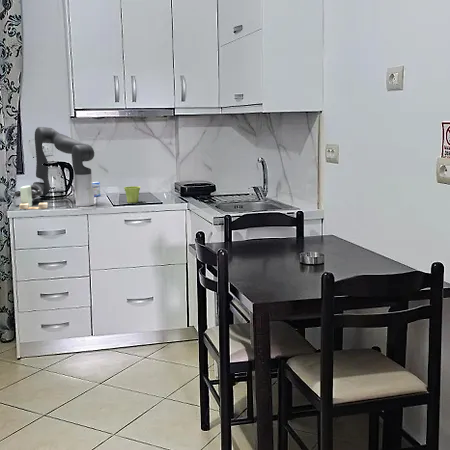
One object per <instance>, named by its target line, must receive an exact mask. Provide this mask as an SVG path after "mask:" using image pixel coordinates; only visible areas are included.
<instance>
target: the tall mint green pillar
mask: <svg viewBox="0 0 450 450" xmlns="http://www.w3.org/2000/svg"><path fill="white" fill-rule="evenodd" d="M19 189H20V190H19V191H20V192H21V196H20V204H21V203H29V207H33V199H32V193H31V185H24V186H21V187H20V188H19Z"/></svg>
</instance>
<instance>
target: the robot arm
mask: <svg viewBox="0 0 450 450" xmlns="http://www.w3.org/2000/svg"><path fill="white" fill-rule="evenodd" d="M34 130H35V131H34V147H35V157H36V159H35V160H36V166H35V177H36V178H37V179H40V180H42V181H43V182H40V181H35V182H33V184H31V185H30V186H31V193H32V200H34V199H36V198H38V197H41V196H43V195H44V194H46V193H47V192H49V190H50V191H51V185H50V180H49V179H50V178H49V169H50V168H48V167H46V166H43V165H42V164H44V163H48V164H49V161H48V159H47V157H46V155H45V153H44V149H43V144H52V145H54V147H55V149H56V150H57V151H59V152H62V153H65V154H69V155H71V158H72V162H71V163H72V170H73V174H74V176H73V177H74V194H75V195H74V196H75V206H76V207H90V206H94V205H95V197H94V188H93V187H92V182H93V180H92V179H93V177H92V175H93V174H92V169H91V168H90V167H86V165H84V163H85V162H90V161H92V160H93V159H94V157H95V150H94V148H93V147H92V146H91V145H90V144H87V143H83V142H80V141H78V140H76V139H73V138H72V137H70V136H68V135H65V134H62V133H60V132H59V131H57V130H55V129H54V128H52V127H44V126H37V127H36V128H35V129H34ZM83 162H84V163H83ZM49 193H50V192H49ZM14 197H16V198H19V197H20V198H21V191H20V190H17V191H14Z"/></svg>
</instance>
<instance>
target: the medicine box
mask: <svg viewBox="0 0 450 450" xmlns="http://www.w3.org/2000/svg"><path fill="white" fill-rule="evenodd" d="M92 187H93V188H94V198H97V196H98V197H101V196H102V194H101V182H100V181H92Z"/></svg>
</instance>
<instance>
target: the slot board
mask: <svg viewBox="0 0 450 450" xmlns="http://www.w3.org/2000/svg"><path fill="white" fill-rule="evenodd" d="M48 205H49V204H48V202H39V203H38V206H30V207H29V203H21V202H20V203H19V208H18V209H19V210H20V209H26V210H44V209H48V207H49V206H48Z"/></svg>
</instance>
